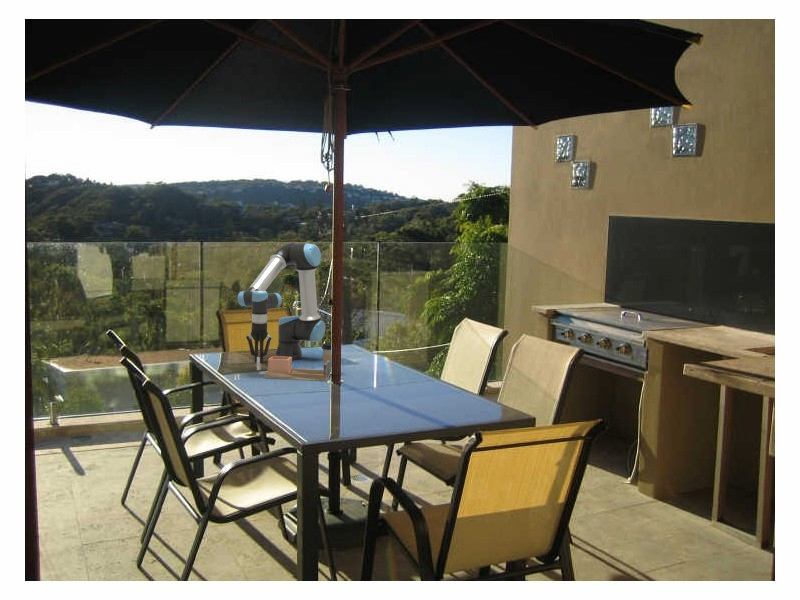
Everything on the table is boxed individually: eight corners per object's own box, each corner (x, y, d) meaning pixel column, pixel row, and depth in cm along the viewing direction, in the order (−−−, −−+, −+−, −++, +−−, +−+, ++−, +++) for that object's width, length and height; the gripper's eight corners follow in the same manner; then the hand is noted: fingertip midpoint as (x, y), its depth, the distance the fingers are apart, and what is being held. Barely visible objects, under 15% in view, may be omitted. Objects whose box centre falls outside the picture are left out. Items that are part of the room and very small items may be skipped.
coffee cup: (341, 372, 423) (341, 343, 421) (337, 375, 413) (338, 346, 412) (322, 371, 424) (323, 342, 422) (319, 374, 414) (319, 345, 413)
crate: (272, 371, 412) (272, 356, 411) (291, 372, 411) (292, 356, 410) (267, 374, 403) (268, 359, 403) (287, 375, 403) (288, 360, 402)
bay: (270, 373, 414) (271, 357, 413) (329, 376, 411) (330, 360, 411) (264, 378, 402) (265, 362, 401) (325, 381, 400) (326, 364, 399)
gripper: (244, 322, 402) (243, 370, 405) (270, 323, 401) (269, 371, 404) (248, 320, 410) (248, 367, 412) (274, 321, 409) (273, 368, 411)
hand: (258, 369), depth 408 cm, fingers closed
